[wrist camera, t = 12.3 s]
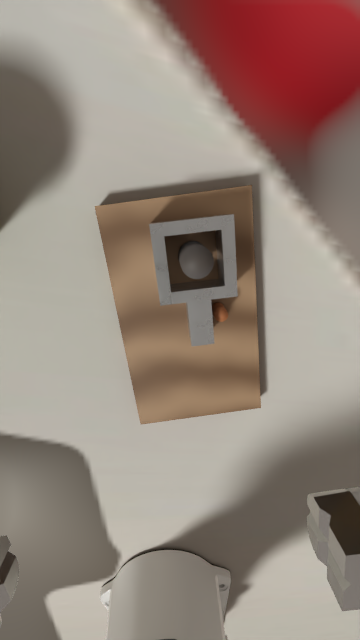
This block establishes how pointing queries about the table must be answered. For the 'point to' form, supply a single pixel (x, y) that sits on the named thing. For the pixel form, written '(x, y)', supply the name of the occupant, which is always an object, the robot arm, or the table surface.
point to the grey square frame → (205, 290)
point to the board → (184, 307)
